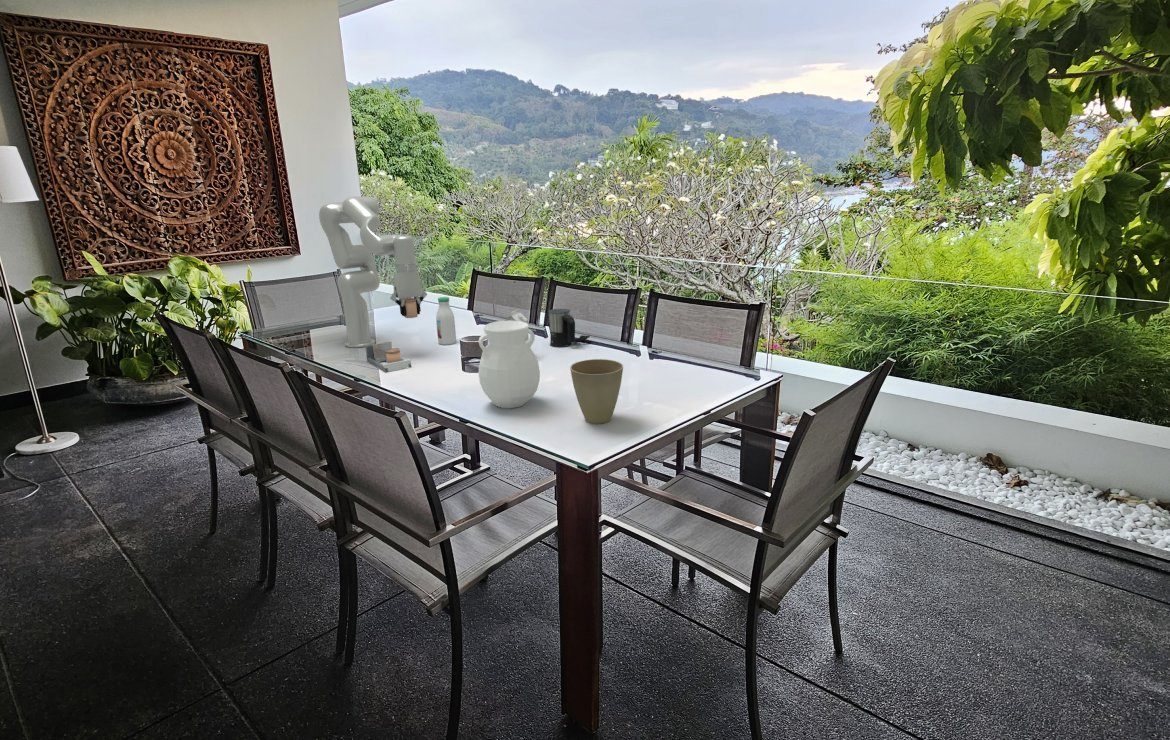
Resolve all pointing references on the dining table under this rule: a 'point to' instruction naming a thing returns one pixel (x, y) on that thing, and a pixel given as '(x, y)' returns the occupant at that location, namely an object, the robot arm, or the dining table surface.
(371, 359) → the grey holder stand
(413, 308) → the jar
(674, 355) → the dining table surface
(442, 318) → the milk bottle
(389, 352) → the jar
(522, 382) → the white vase
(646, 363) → the dining table surface
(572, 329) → the milk frother
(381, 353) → the pusher plate
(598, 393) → the plant pot
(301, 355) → the dining table surface
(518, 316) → the milk carton
